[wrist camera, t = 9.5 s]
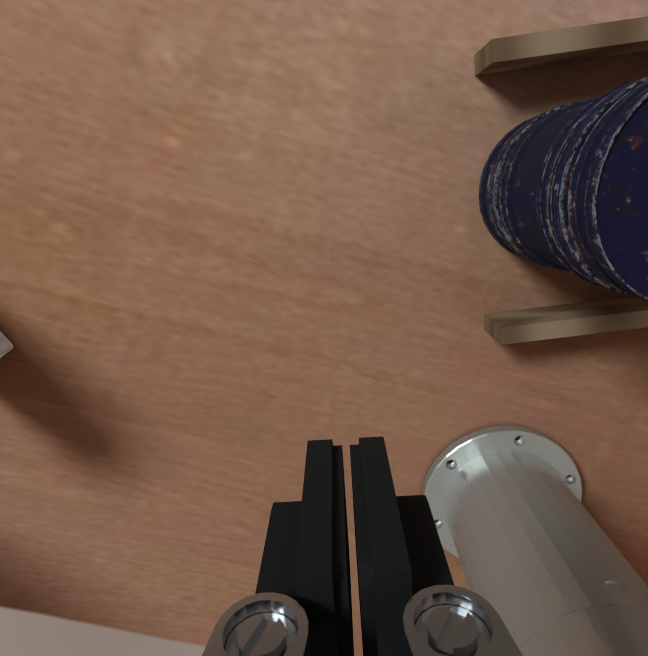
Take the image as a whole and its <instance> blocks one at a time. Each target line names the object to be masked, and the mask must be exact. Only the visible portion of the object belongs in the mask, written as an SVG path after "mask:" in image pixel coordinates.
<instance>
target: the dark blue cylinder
mask: <svg viewBox="0 0 648 656" xmlns="http://www.w3.org/2000/svg"><path fill="white" fill-rule="evenodd" d="M479 204H480V211H481V214H482V218H483V221H484V223H485V225H486V227H487V229H488V231H489V232H490V233H491V235H492V236H493V238H494V239H495V240H496V241H497V242H498V243H499V244H500V245H501V246H503V247H504V248H506V249H507V250H509V251H510V252H512V253H515V254H517V255H519V256H521V257H523V258H525V259H527V260H529V261H532V262H534V263H536V264H539V265H543V266H546V267H550V268H556V269H560V270H564V271H571V272H572V273H574V274H575V275H577V276H578V277H580V278H581V279H583V280H586V281H588V282H590V283H592V284H595V285H598V286H602V287H605V288H607V289H610V290H612V291H615V292H618V293H621V294H625V295H629V296H633V297H640V298H643V299H645V300H648V76H647V77H644V78H641V79H639V80H636V81H632V82H629V83H626V84H624V85H621V86H619V87H617V88H614V89H612V90H610V91H608V92H607V93H605V94H603V95H602V96H600V97H598V98H597V99H590V100H586V101H581V102H575V103H571V104H566V105H562V106H559V107H556V108H554V109H551V110H549V111H546V112H544V113H542V114H540V115H538V116H536V117H534V118H531V119H529V120H526V121H524V122H523V123H521V124H519V125H518V126H516V127H515V128H513V129H512V130H511V131H510V132H508V133H507V134H506V135H505V136H504V137H503V138H502V139H501V140H500V141H499V143H498V144H497V145H496V146H495V148H494V149H493V151H492V152H491V154H490V156H489V158H488V160H487V162H486V164H485V166H484V169H483V172H482V175H481V180H480V186H479Z"/></svg>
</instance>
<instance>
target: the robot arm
mask: <svg viewBox="0 0 648 656" xmlns="http://www.w3.org/2000/svg"><path fill="white" fill-rule="evenodd" d="M350 456H351V473H352V489H353V506H354V522H355V539H356V555H357V570H358V585H359V600H360V615H361V630H362V644H363V656H648V586H647V584H646V583H645V582H644V581H643V579H642V578H641V577H640V576H639V574H638V573H637V572H636V571H635V569H634V568H633V567H632V566H631V564H630V563H629V562H628V561H627V559H626V558H625V557H624V556H623V554H622V553H621V552H620V551H619V549H618V548H617V547H616V546H615V544H614V543H613V542H612V541H611V540H610V538H609V537H608V536H607V535H606V533H605V532H604V531H603V530H602V528H601V527H600V526H599V525H598V523H597V522H596V521H595V520H594V518H593V517H592V516H591V515H590V513H589V512H588V511H587V510H586V508H585V507H584V506H583V505H582V503H581V501H582V483H581V477H580V475H579V472H578V469H577V467H576V465H575V464H574V462H573V460H572V459H571V457H570V456H569V455H568V454H567V453H566V451H565V450H564V449H563V448H562V447H561V446H560V445H559V444H558V443H556V442H555V441H554V440H552V439H551V438H550V437H548V436H546V435H544V434H542V433H540V432H538V431H536V430H532V429H528V428H525V427H520V426H507V425H506V426H495V427H488V428H485V429H481V430H477V431H474V432H472V433H470V434H468V435H465V436H463V437H461V438H460V439H458V440H457V441H455V442H454V443H452V444H451V445H449V446H448V447H447V448H446V449H445V450H444V451H443V452H442V453H441V454H440V455H439V456H438V457H437V459H436V460H435V461H434V463H433V464H432V466H431V467H430V469H429V471H428V474H427V476H426V478H425V481H424V485H423V490H422V495H413V496H396V494H395V490H394V485H393V480H392V475H391V471H390V466H389V461H388V456H387V452H386V447H385V442H384V438H383V437H367V438H359V444H358V445H350ZM449 460H450V461H449ZM442 547H443V548H444V549H445V550H446V551H448V552H449V553H451V554H452V555H454V556H455V557H457V558H460V561H461V564H462V567H463V570H464V573H465V575H466V578H467V581H468V584H469V587H470V590H471V591H470V590H468V589H466V588H463V587H458V586H454V583H453V580H452V577H451V573H450V570H449V567H448V564H447V561H446V557H445V554H444V551H443V548H442ZM202 656H354V644H353V623H352V602H351V581H350V560H349V543H348V528H347V513H346V498H345V482H344V467H343V452H342V445H340V446H333V442H332V439H330V440H311V441H308V444H307V454H306V464H305V474H304V485H303V495H302V501H294V502H274V503H273V506H272V510H271V515H270V520H269V525H268V531H267V536H266V541H265V546H264V552H263V557H262V562H261V567H260V572H259V578H258V583H257V588H256V593H255V594H254V595H251V596H248V597H245V598H243V599H241V600H240V601H238V602H236V603H234V604H233V605H232V606H231V607H230V608H229V609H227V610H226V611H225V612H224V613H223V614H222V616H221V617H220V619H219V620H218V622H217V624H216V625H215V627H214V629H213V632H212V634H211V636H210V638H209V641H208V643H207V645H206V648H205V650H204V652H203V654H202Z"/></svg>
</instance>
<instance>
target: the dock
mask: <svg viewBox="0 0 648 656" xmlns="http://www.w3.org/2000/svg"><path fill="white" fill-rule="evenodd" d="M646 51H648V17H642V18H635V19H628V20H621V21H614V22H607V23H600V24H593V25H586V26H580V27H573V28H566V29H559V30H552V31H545V32H538V33H531V34H524V35H518V36H511V37H504V38H497V39H492V40H491V41H490V42H488V43H487V44H486V45H485V46H484V47H483V48H482V49H481V50H480V51H478V52H477V53H476V54H475V55H474V59H475V76H477V75H484V74H491V73H499V72H506V71H513V70H520V69H527V68H534V67H541V66H548V65H555V64H562V63H569V62H576V61H583V60H590V59H597V58H604V57H611V56H618V55H625V54H632V53H639V52H646ZM484 318H485V331H487V332H488V333H489V334H490V335H491V336H492V337H493V338H494V339H495V340H496V341H498V342H499V343H500V344H501V345H503V344H512V343H520V342H529V341H537V340H546V339H554V338H562V337H571V336H579V335H588V334H596V333H605V332H613V331H622V330H630V329H638V328H647V327H648V300H645V299H643V298H640V297H625V298H616V299H608V300H600V301H592V302H583V303H575V304H567V305H559V306H550V307H542V308H534V309H526V310H517V311H509V312H501V313H493V314H484Z"/></svg>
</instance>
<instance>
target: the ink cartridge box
mask: <svg viewBox="0 0 648 656" xmlns="http://www.w3.org/2000/svg"><path fill="white" fill-rule="evenodd" d="M12 349H13V344H12V343H11V342H10V341H9V340H8V339H7V337H6V336H5V335H4V334H3V333H2V332H1V331H0V358H1V357H2V356H4V355H5V354H6V353H8V352H9V351H10V350H12Z"/></svg>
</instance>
